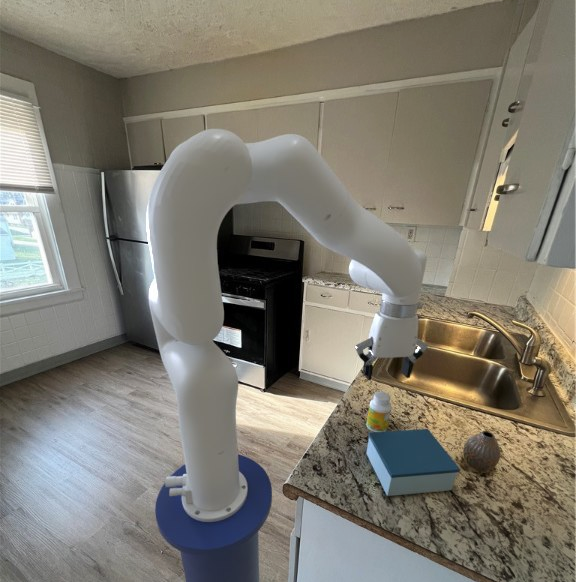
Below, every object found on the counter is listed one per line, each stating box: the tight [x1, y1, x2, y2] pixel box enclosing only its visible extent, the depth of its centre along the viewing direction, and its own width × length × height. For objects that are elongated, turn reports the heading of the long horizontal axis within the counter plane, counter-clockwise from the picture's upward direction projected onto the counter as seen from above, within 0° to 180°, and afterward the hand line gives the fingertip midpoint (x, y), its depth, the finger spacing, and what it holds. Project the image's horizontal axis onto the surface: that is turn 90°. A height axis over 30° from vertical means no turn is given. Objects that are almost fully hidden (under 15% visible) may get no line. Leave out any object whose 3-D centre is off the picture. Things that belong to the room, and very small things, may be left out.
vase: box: [462, 430, 501, 472], centre depth 69 cm, size 7×7×9 cm
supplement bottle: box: [365, 391, 392, 432], centre depth 80 cm, size 5×5×10 cm
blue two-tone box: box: [366, 428, 462, 497], centre depth 68 cm, size 14×12×6 cm
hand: (386, 376), depth 76 cm, fingers open, 9 cm apart
